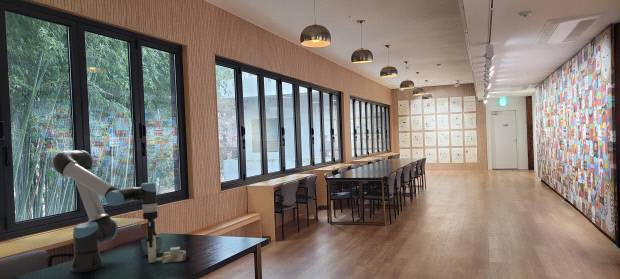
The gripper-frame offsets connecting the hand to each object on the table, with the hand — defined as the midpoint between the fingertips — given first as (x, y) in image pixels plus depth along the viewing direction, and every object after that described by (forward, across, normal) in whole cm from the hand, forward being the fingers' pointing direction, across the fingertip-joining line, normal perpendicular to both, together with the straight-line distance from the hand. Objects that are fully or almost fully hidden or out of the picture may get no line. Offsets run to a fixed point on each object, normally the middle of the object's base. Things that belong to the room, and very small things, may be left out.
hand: (152, 250), depth 246 cm
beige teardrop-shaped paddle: (+6, 0, -6) cm, 8 cm away
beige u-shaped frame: (+6, 0, -11) cm, 13 cm away
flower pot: (+6, +19, +2) cm, 20 cm away
